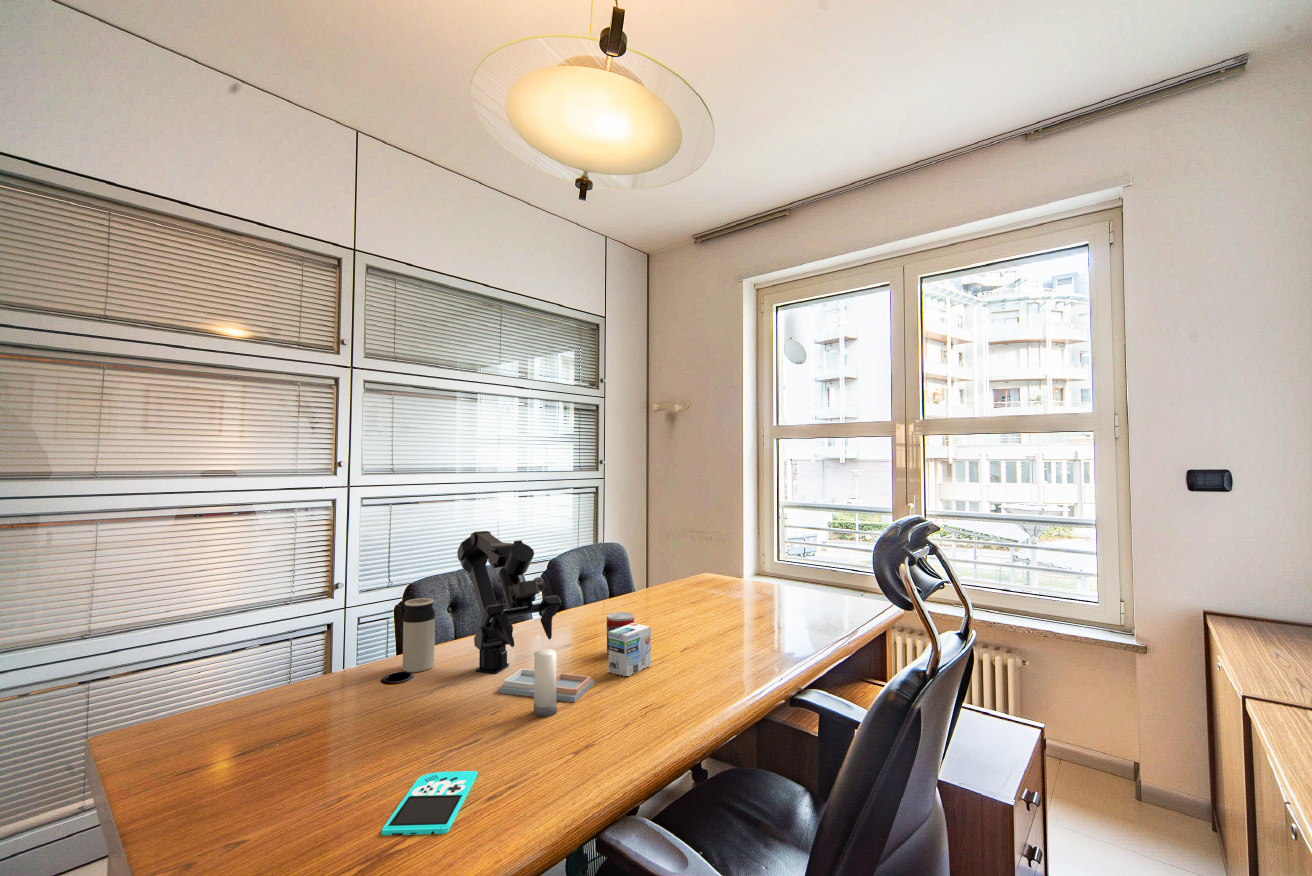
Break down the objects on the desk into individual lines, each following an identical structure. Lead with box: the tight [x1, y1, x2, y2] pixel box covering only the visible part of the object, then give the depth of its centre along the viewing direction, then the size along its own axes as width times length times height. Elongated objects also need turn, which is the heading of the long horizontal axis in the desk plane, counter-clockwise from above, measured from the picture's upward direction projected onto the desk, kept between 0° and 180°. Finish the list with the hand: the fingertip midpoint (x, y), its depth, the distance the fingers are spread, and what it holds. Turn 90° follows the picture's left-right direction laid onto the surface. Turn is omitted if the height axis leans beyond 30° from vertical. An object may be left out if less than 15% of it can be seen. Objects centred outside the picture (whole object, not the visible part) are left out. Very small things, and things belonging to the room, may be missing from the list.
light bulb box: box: [608, 622, 652, 677], centre depth 150 cm, size 11×7×11 cm, turn 143°
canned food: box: [606, 611, 635, 655], centre depth 162 cm, size 8×8×11 cm
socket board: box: [498, 668, 595, 703], centre depth 137 cm, size 20×11×2 cm, turn 72°
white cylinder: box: [533, 648, 558, 718], centre depth 124 cm, size 5×5×13 cm
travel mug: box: [402, 597, 436, 673], centre depth 152 cm, size 8×8×18 cm
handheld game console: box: [381, 770, 479, 836], centre depth 90 cm, size 10×16×1 cm, turn 2°
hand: (532, 642), depth 130 cm, fingers open, 9 cm apart
